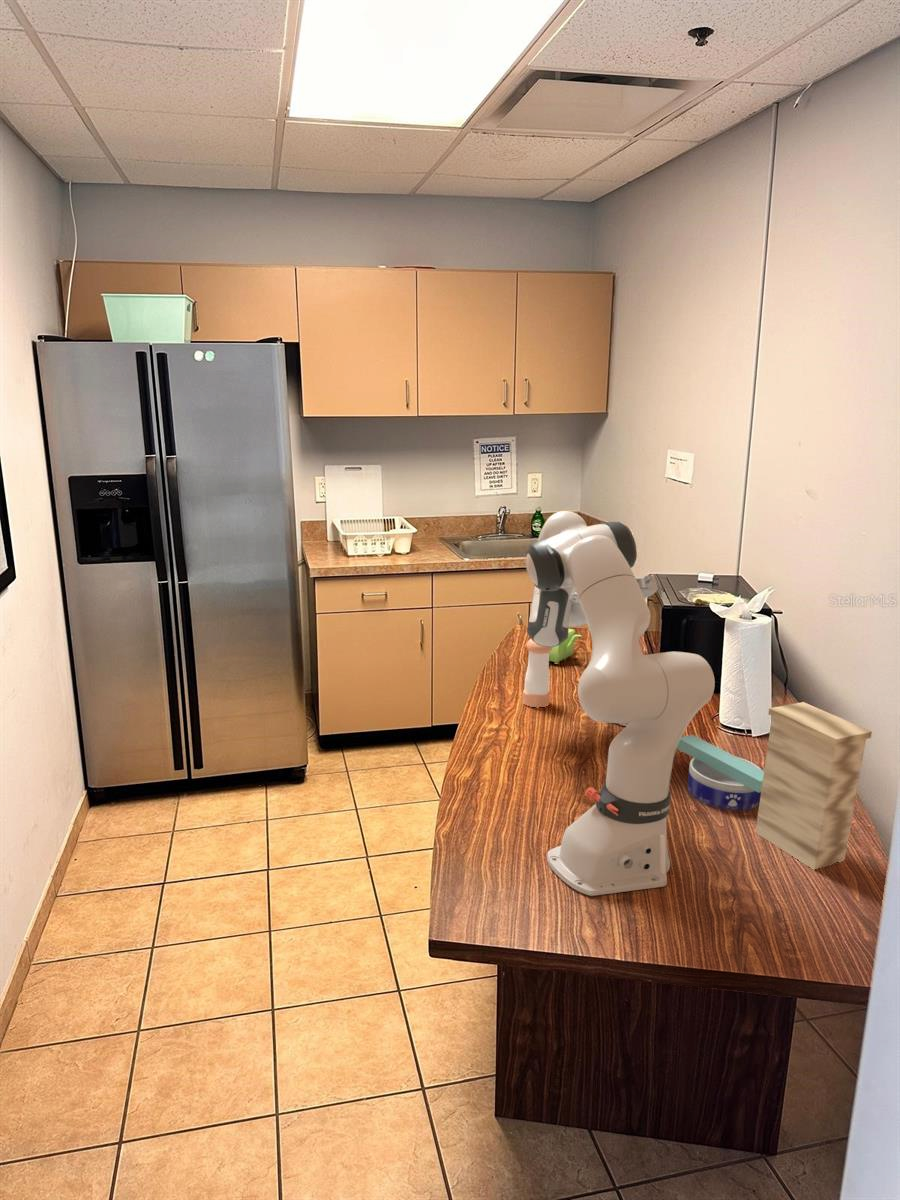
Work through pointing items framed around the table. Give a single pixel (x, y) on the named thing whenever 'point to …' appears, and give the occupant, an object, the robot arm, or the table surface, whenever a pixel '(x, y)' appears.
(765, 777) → the beige block
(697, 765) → the dog bowl
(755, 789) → the slat
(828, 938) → the table surface
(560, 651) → the kettle
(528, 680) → the salt shaker
